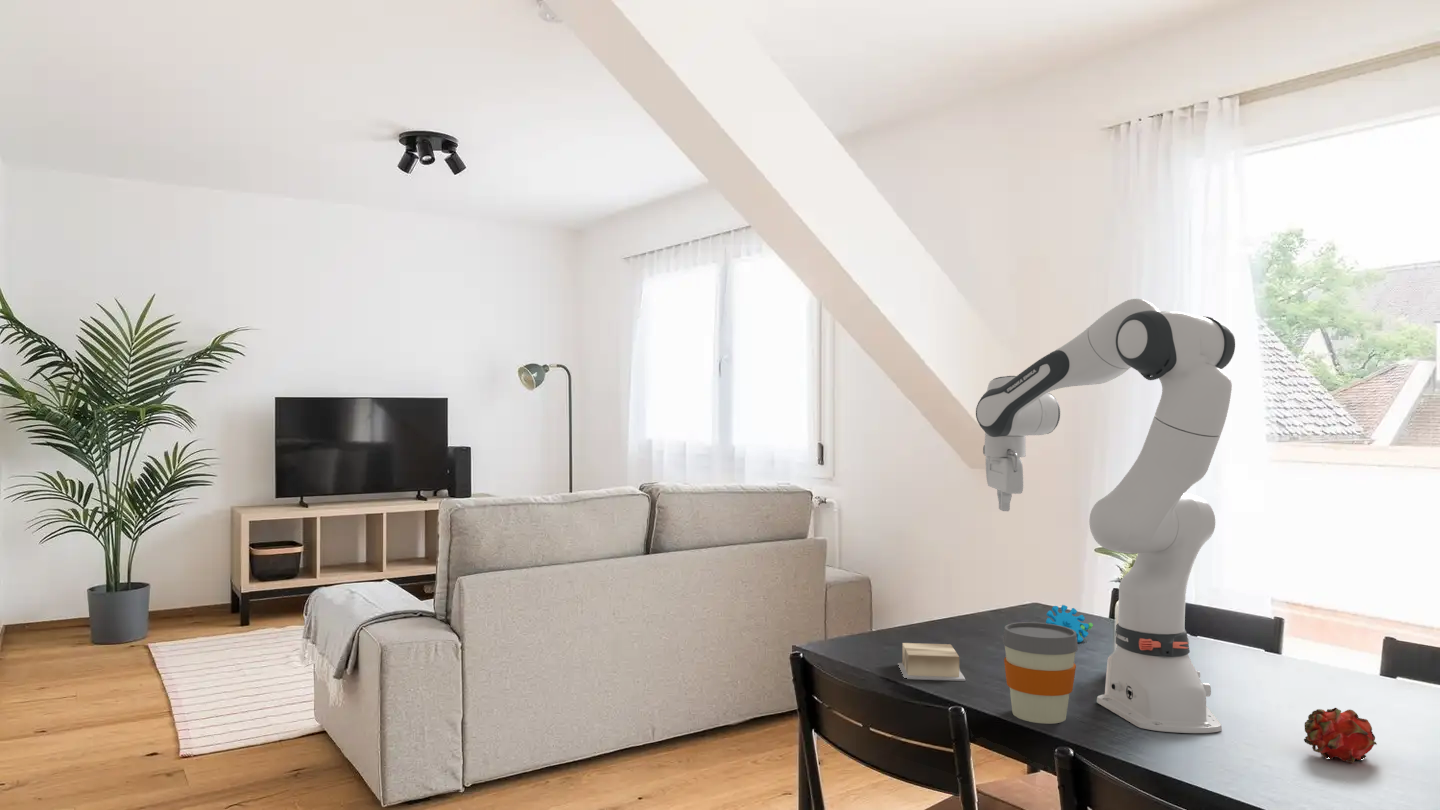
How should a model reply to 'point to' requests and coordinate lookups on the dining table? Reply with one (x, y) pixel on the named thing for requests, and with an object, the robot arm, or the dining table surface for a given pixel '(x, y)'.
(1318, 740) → the dragon fruit
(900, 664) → the mat
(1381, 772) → the dining table surface
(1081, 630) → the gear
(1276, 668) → the dining table surface
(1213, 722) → the robot arm
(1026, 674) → the reusable coffee cup
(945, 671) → the birch slab
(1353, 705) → the dining table surface
